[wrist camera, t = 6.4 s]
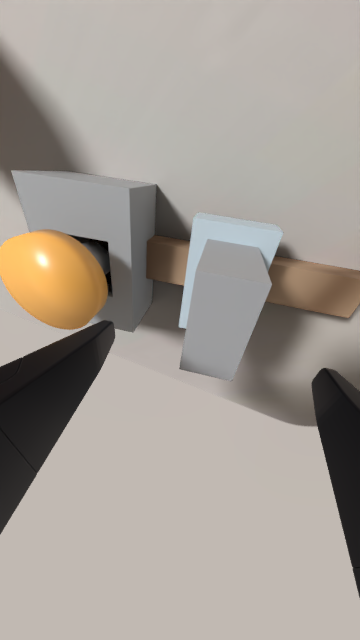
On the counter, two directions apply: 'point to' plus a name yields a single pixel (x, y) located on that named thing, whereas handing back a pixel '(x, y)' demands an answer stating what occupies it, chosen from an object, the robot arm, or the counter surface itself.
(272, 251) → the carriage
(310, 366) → the counter surface
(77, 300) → the orange oval piece
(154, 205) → the grey rectangular block
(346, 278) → the rail
